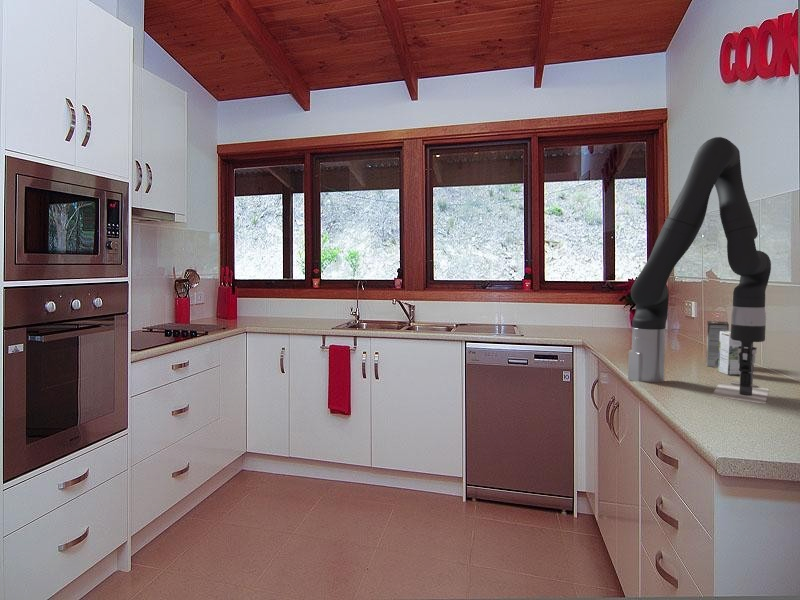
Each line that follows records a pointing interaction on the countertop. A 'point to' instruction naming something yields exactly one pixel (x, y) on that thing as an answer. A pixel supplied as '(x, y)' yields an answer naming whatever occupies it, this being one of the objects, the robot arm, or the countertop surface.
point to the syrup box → (728, 354)
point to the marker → (747, 390)
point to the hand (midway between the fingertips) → (745, 385)
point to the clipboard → (733, 393)
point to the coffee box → (714, 341)
